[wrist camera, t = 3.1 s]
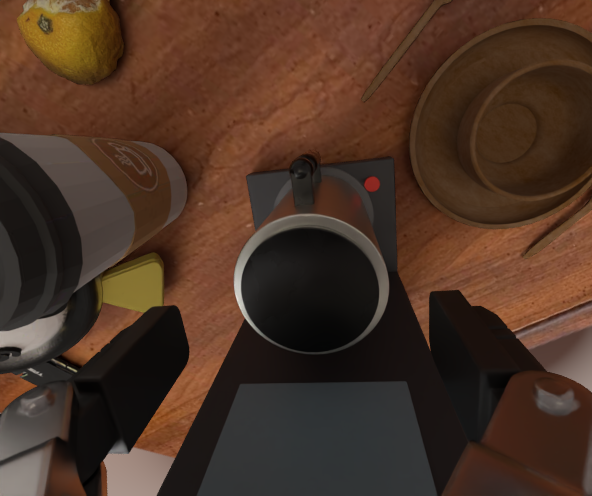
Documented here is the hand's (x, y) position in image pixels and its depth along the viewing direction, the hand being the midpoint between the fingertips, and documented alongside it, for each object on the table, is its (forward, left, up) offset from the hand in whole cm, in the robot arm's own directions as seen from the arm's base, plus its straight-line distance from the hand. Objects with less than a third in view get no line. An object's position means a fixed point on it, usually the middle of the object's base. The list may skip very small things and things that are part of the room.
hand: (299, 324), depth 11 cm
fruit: (-16, -14, -15) cm, 26 cm away
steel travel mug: (0, 0, -13) cm, 13 cm away
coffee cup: (-4, -13, -15) cm, 20 cm away
